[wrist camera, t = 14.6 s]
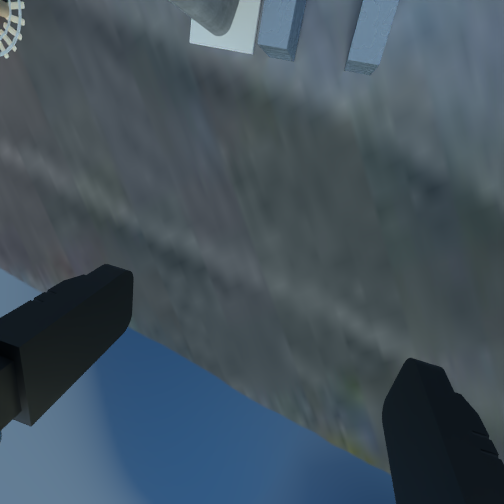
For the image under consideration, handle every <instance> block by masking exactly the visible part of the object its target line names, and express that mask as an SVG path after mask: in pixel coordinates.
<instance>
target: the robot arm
mask: <svg viewBox="0 0 504 504" xmlns="http://www.w3.org/2000/svg"><path fill="white" fill-rule="evenodd" d="M132 301H133V274H132V272H131V271H128V270H125V269H122V268H119V267H115V266H112V265H109V264H104V265H102V266H100V267H99V268H97V269H95V270H94V271H92V272H91V273H89V274H87V275H81V276H77V277H74V278H71V279H67V280H64V281H62V282H61V283H59V284H57V285H56V286H54V287H52V288H50V289H49V290H48V291H47V293H46V292H44V293H42V294H40V295H39V296H37V297H35V298H34V300H33V301H31V300H30V301H28V302H27V303H25V304H23V305H22V306H20V307H19V308H17V309H15V310H13V311H11V312H10V313H8V314H6V315H4V316H3V317H1V318H0V442H1V437H2V432H1V430H2V429H3V428H4V427H5V426H6V425H7V424H8V423H9V422H10V421H11V420H12V419H14V420H16V421H19V422H21V423H24V424H26V425H29V426H32V425H33V424H34V423H35V422H36V421H37V420H38V419H39V418H40V417H41V416H42V415H43V414H44V413H45V412H46V411H47V410H48V409H49V408H50V407H51V406H52V405H53V404H54V403H55V402H56V401H57V400H58V399H59V398H60V397H61V396H62V395H63V394H64V393H65V392H66V391H67V390H68V389H69V388H70V387H71V386H72V385H73V384H74V383H75V382H76V381H77V380H78V379H79V378H80V377H81V376H82V375H83V374H84V372H86V371H87V370H88V369H89V368H90V367H91V366H92V364H93V363H95V362H96V361H97V360H98V358H100V356H102V354H104V353H105V351H106V350H107V349H108V348H109V347H110V346H111V345H112V344H113V343H114V342H115V341H116V340H117V339H118V338H119V337H120V336H121V335H122V334H123V333H124V332H125V331H126V329H127V327H128V325H129V323H130V320H131V316H132ZM382 423H383V429H384V435H385V441H386V446H387V452H388V458H389V464H390V470H391V476H392V481H393V488H394V493H395V499H396V504H504V464H503V462H502V460H501V459H498V455H499V454H498V452H497V450H496V448H495V446H494V444H493V442H492V440H489V435H488V433H487V431H486V429H485V427H484V425H483V423H482V421H481V419H480V417H479V415H478V414H477V412H476V411H475V410H474V409H473V408H472V407H471V405H470V404H469V403H468V402H467V401H466V400H465V399H464V397H463V396H462V395H461V394H458V393H455V392H454V390H453V388H452V386H451V384H450V382H449V379H448V377H447V375H446V373H445V371H444V369H443V368H441V367H439V366H436V365H432V364H429V363H426V362H423V361H419V360H416V359H413V358H409V359H407V360H406V361H405V363H404V364H403V366H402V368H401V370H400V372H399V374H398V376H397V378H396V379H395V381H394V383H393V385H392V387H391V389H390V391H389V393H388V395H387V396H386V399H385V401H384V405H383V411H382Z"/></svg>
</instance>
